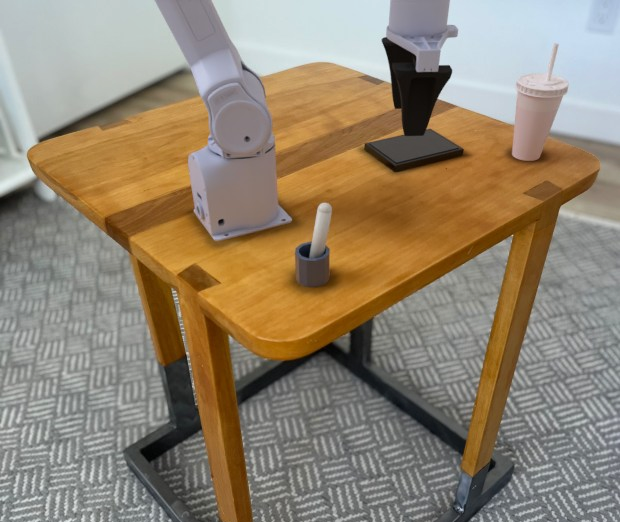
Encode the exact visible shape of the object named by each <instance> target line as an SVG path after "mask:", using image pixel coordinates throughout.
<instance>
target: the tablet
mask: <svg viewBox="0 0 620 522" xmlns="http://www.w3.org/2000/svg"><path fill="white" fill-rule="evenodd" d="M363 150H364V151H365V152H367V153H368V154H370V155H371V156H372V157H374V158H375V159H376V160H378V161H379V162H380V163H382V164H383V165H385V166H386V167H387V168H388V169H390V170H391V171H393V172H395V173H396V172H397V173H398V172H400V171H404V170H405V171H406V170H408V169H413V168H416V167H420V166H425V165H429V164H433V163H436V162H440V161H445V160H449V159H453V158H457V157H461V156H464V152H465V148H464V147H462V146H460V145H458V144H457V143H456V142H453V141H451V140H450V139H448V138H447V137H445V136H443V135H442V134H440V133H438V132H437V131H435V130H433V129H432V128H427V129H426V131H425V134H424V135H423V136H405V135H404V134H401V135H396V136H391V137H386V138H383V139H378V140H374V141H370V142H365V143H364V149H363Z"/></svg>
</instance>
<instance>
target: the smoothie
mask: <svg viewBox="0 0 620 522" xmlns="http://www.w3.org/2000/svg"><path fill="white" fill-rule="evenodd" d="M558 49H559V43H556V42H555V43H553V46H552V51H551V55H550V60H549V63H548V64H549V65H548V68H547V71H546V73H540V72H538V73H537V72H535V73H534V72H533V73H532V72H531V73H526V74H522V75H520V76H519V77H517V80H516V84H515V86H514V88H515V90H516V91H517V92H516V99H515V101H516V102H515V115H514V126H513V137H512V149H511V156H512V157H513V158H515V159H517V160H519V161H524V162H533V161H538V160H539V159H540V158H541V155H542V152H543V150H544V148H545V146H546V145H545V144H546V142H547V139H548V137H549V135H550V132H551V129H552V127H553V124H554V121H555V118H556V116H557V113H558V111H559V109H560V106H561V103H562V101H563V98H564V96H565V95H566V94H567V93H568V91H569V90H568V89H569V86H570V83H569V81H568V80H567V79H566V78H564V77H562V76H560V75H559V76H558V75H555V74H553V69H554V66H555V62H556V57H557V53H558Z"/></svg>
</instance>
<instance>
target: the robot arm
mask: <svg viewBox="0 0 620 522" xmlns="http://www.w3.org/2000/svg"><path fill="white" fill-rule="evenodd" d="M389 1H390V2H389V16H388V25H387V26H386V31H385V36H384V37H382V38H381V44H382V46H383V48H384V51H385V54H386V58H387V62H388V67H389V73H390V84H391V86H390V87H391V95H392V97H391V98H392V102H393V108H394V109H395V110H397V109H398V110H400V111H401V126H402V127H401V128H402V132H403V135H405V136H423V135H424V134H425V131H426V129H428V126H429V123H430V120H431V117H432V115H433V111H434V108H435V106H436V104H437V101H438V99H439V96H440V95H441V93H442V91H443V89H444V88H445V86H446V84H447V83H448V82H449V81H450V79H451V77H452V74H453V68H452V67H451V65H450V64H440V59H441V50H442V48H443V46H444V44H445V43H446V41H447V39H449V38H457V37H458V36H459V28H458V27H457V26H456V25H455V24H448V19H449V10H450V5H451V0H389ZM154 2H155V5H156V6H157V7H158V10H159V11H160V14H161V16H162V17H163V19H164V21H165V23H166V25H167V27H168V28H169V30H170V32H171V34H172V36H173V38H174V40H175V41H176V43H177V45H178V47H179V49H180V51H181V53H182V54H183V57H184V58H185V60H186V62H187V65H188V66H189V68H190V70H191V73H192V76H193V80H194V82H195V84H196V85H195V86H196V88H197V91H198V93H199V96H200V98H201V100H202V102H203V104H204V106H205V108H206V111H207V114H208V129H209V133H210V134H209V135H208V137H207V144H206V145H205V146H204V147H202V148H200V149H199V150H196V151H193V152H190V153H189V154H188V158H187V166H188V173H189V174H188V175H189V181H190V186H191V187H190V188H191V193H192V200H193V206H194V209H193V213H194V215H195V216H196V217H197V219H198V220H199V221H200V223H201V224H202V226H203V227H204V229H205V230H206V231H207V232H208V234H209V235H210V237H211V238H212V239H213V240H214V242H222V241H226V240H229V239H234V238H238V237H241V236H245V235H249V234H252V233H256V232H260V231H263V230H268V229H272V228H275V227H279V226H283V225H287V224H290V223H291V224H292V222H293V218H292V217H291V216H290V215H289V214H288V213H287V212H286V210H284V209H283V208H282V206H281V205H280V204H279V191H278V171H277V170H278V169H277V155H276V153H277V151H276V137H275V135H274V133H273V128H274V127H273V124H274V123H273V117H272V114H271V112H270V110H269V107H268V103H267V95H266V89H265V86H264V83H263V81H262V79H261V77H260V76H259V75H258V73H256V72H255V71H254V70H252V69H251V68H249V66H247V65H246V63H245V62H244V61H243V59H242V57H241V55H240V53H239V50H238V48H237V47H236V45H235V44H234V43H233V41H232V40H231V38H230V37H229V33H228V32H227V30H226V28H225V26H224V24H223V21H222V19H221V17H220V15H219V13H218V11H217V9H216V7H215V4H214V2H213V1H212V0H154Z"/></svg>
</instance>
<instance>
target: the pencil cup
mask: <svg viewBox="0 0 620 522" xmlns="http://www.w3.org/2000/svg"><path fill="white" fill-rule="evenodd" d="M311 244H312V241H307V242H302V243H300V244H299V245H297V246H296V247H295V250H294V264H295V265H294V267H295V280H296V282H297V283H298V284H300V285H301V286H302V287H303V286H304V287H307V288H318V287H321V286H324V285H326V284H328V282H329V280H330V276H331V274H330V273H331V271H330V270H331V269H330V268H331V263H330V262H331V253H330V252H331V249H330V247H329V246H328V245H326V246H325V252H324V255H323V256H322V257H318V258H309V255H310V249H311Z"/></svg>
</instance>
